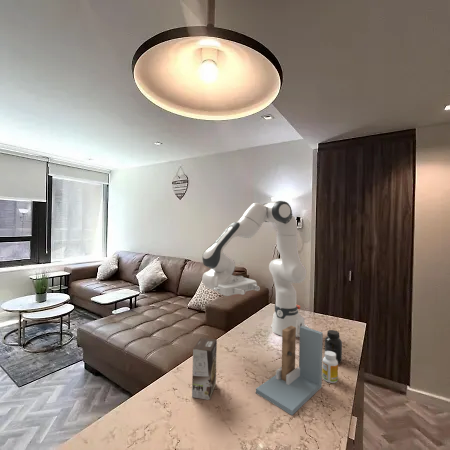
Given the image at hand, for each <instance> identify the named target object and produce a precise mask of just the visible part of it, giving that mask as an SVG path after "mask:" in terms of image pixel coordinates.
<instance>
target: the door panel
mask: <svg viewBox="0 0 450 450" xmlns="http://www.w3.org/2000/svg"><path fill="white" fill-rule="evenodd" d="M296 338H297V337H296V327H294V326H289V327H287V328H285V329H283V330H282V336H281V367H282V375H281V379H282V380H284V381H286V375H287V374H289V373H290V372H291V371H293V370H294V369H296V342H297V341H296V340H297V339H296Z"/></svg>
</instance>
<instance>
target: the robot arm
mask: <svg viewBox="0 0 450 450" xmlns="http://www.w3.org/2000/svg"><path fill="white" fill-rule="evenodd" d="M264 222H265V223H275V225H276V250H277V252H278V253H279V255H280V258H275V259H272V260H271V261H270V262H269V264H268V270H269V272H270V274H271V276H272V280H273V284H274V287H275V288H274V289H275V304H274V312H273V314H272V316H273V317H272V323H271V324H270V327H272V328H271V331H272V332H273V333H274V334H275V335H278V336H281V337H282V330H283V329H285V328H287V327H289V326H294V327H296V338H300V327H301V326H304V327H307V328H310V326H308V325H307V324H305V317H304V315H301V313H299V310H300V309H301V305H298V304H297V302H298V301H297V290H296V288H295V287H294V285H293V283H294V284H301V283H303V282H304V281H305V280H306V278H307V272H308V271H307V269H306V267H305V266H304V264H303V263H302V260H301V258H300V255H299V249H298V224H297V223H298V222H297V219H296V217H295V216H294V215H293V210H292V207H291V205H290V204H289V203H288V202H287V201H284V200H278V201H276V200H274V201H270V202H266V203H263V204H262V203H260V202H254V203H252V204H250V206H249V207H248V208H247V209H246V210H245V211H244V213H243V214H242V216H241V217H240V219H238V220H237V221H234V222H232V223H230V224H229V225H228V226H227V227H226V228H225V229H224V230H223V231H222V232H221V234H220V235H219V236H218V237H217V238H216V239H215V241H214V242H213V243H212V244H211V245H210V246H209V247H207V248H206V249H205V250H204V251H203V254H202V257H201V259H202V264H203V265H204V267H207V268H209V270H207V271H205V272H204V273H203V274H202V278H201V281H202V284H203V286H204V287H205V288H207V289H209V290H211V291H214V292H217V293H218V294H219V295H222V296H225V297H226V296H227V297H229V296H234V295H245V294H246V292H248V291H249V292H251V291H252V290H253V291H257V292H258V291H260V290H261V289H260V288H261V287H260V286H259V285H258V282H257V281H256V280H255V279H251V278H249V277H248V278H247V277H244V276H243V275H233V274H234V272H235V269H236V262H235V260H234V259H232V258H231V257H230V256H228V255H227V254H226V253H224V251H223V250H224V249H225V248H226V247H227V245H229V243H230V242H232V240H233V239H234V238H235V237H240V238H244V239H249V238H250V239H251V238H253V237H255V236H256V235H257V233H259V230H260V228H261V227H262V225H263V223H264Z"/></svg>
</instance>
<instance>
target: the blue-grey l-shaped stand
mask: <svg viewBox="0 0 450 450" xmlns="http://www.w3.org/2000/svg"><path fill="white" fill-rule="evenodd" d="M323 333H324V332H323V331H319V330H315V329H312V328H310V327H309V328H307V327H304V326H301V327H300V337H299V342H298V343H299V349H298V350H299V351H298V352H299V353H298V354H299V355H298V366H297V367H295V369H294V370H293V371H291V372H290V373H289V374H287V375H286V381H284V380H282V379H281V375H282V366H280V367H279V368H278V369H276V370H275V375H273V376H272V377H270V378H269V379H268V380H265V382H263V383H262V384H260V385H259V386H257V387H256V388H255V394H256V395H258V396H260V397H261V398H263V399H265V401H269V403H270V404H273V405H274V406H276V407H278V408H279V409H281V410H282V411H284V412H286V413H287V414H289V415H290V416H294V414H296V413H297V412H298V411H299V410H300V409H301V407H302V406H304V404H306V403H307V401H309V400H310V399H311V398H312V397H313V396H314V395H315V394H316V393H317V392H319V390H320V389H321V388H323V387H322V386H323V385H322V384H323V383H322V382H323V377H322V366H323V342H324V340H323Z"/></svg>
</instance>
